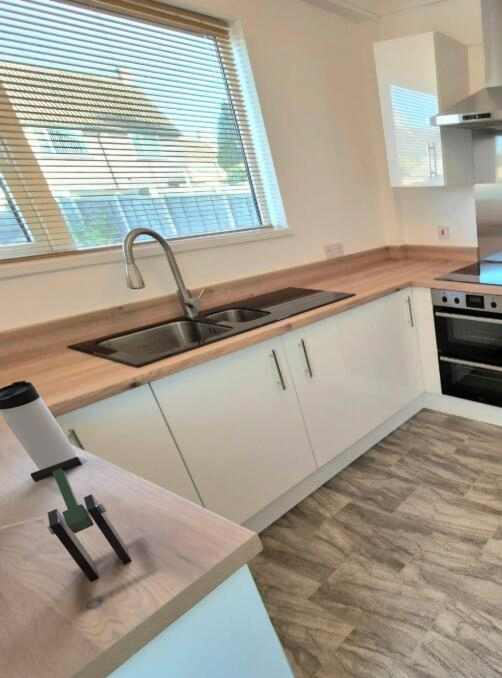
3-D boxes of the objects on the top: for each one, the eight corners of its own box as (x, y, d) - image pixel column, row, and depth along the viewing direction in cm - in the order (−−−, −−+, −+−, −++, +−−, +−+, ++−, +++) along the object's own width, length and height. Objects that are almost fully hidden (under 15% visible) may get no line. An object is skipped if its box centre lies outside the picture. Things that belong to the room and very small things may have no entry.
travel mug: (87, 455, 98) (39, 377, 89) (72, 471, 93) (19, 390, 84) (53, 462, 96) (0, 383, 88) (36, 479, 91) (-22, 397, 82)
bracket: (76, 569, 68) (32, 509, 63) (138, 539, 74) (102, 481, 68) (84, 606, 62) (35, 543, 57) (151, 570, 67) (112, 509, 62)
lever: (35, 479, 67) (27, 470, 65) (81, 461, 70) (75, 452, 69) (59, 540, 61) (51, 532, 60) (108, 518, 65) (102, 510, 63)
